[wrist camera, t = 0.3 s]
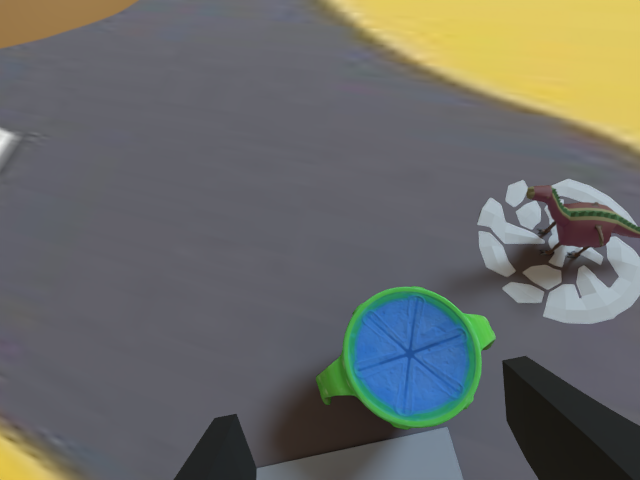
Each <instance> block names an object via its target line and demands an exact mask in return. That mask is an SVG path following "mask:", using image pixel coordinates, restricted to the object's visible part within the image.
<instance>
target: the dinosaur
mask: <svg viewBox="0 0 640 480" xmlns="http://www.w3.org/2000/svg"><path fill="white" fill-rule="evenodd" d="M527 190H528V191H527ZM526 192H527V198H529V199H532V200H537V201H542V202H545V203H546V204H547V206H546V207H545V211H546V213H547V215H548V217H549V219H550V221H549V222H550V226H549V227H548V228H547V229H539V230H542V231H540V232H539V233H537V234H540V233H548V232H550V230H551V231H552V234H553V235H552V236H551V237H550V238H549V246H550V248H551V250H549V251H544V250H540V251H543V252H544V253H542V254H540V255H551V254H552V253H553V251H554V252H555V254H554V255H553V256H552V258H551V259H550V261H549V263H551V264H553V265H555V266H559V267H563V263H564V259H565V255H566V254H569V253H570V254H572V255H569V256H567V257H578V256H580V254H581V255H583V256H585V257H586V258H589V259H591V260H593V261H594V262H596V263H598V264H600V265H601V263H602V260H603V256H602V255H600V254H599V253H598V252H596V251H595V250H594V249H592V248H591V247H594V248H596V247H601V246H604V245H606V246H607V258H608V260H609V262H610V263H611V265H612V266H613V268H614V269H615V271H616V273H617V274H618V275H619V278H618V279H617V280H616V281H615V283H614V284H613V285H612V286H611V288H608V287H607V286H606V285H605V284H603V283H602V282H601V281H600V280H599V279H598V278H597V277H596V276H595V274H594V273H592V272H591V271H590V270H589V269H588V268H587V267H586V266H585V265H584V266H582V267H580V268H579V269H578V275H577V281H576V283H577V286H578V289H579V291H580V294H581V296H582V298H579V296H578V294H577V291H576V288H575V286H574V285H572V284H563V285H561V286H560V287H558V288H556V289H554V290H553V291H551V292H550V293H549V296H548V300H547V303H546V308H545V311H544V315H543V317H547V318H550V319H554V320H557V321H561V322H564V323H580V324H592V323H596V322H601V321H605V320H609V319H613V318H614V317H615V316H616V315H618V314H619V313H621V312H622V311H624V310H626V309H627V308H629V307H631V306H632V304H633V303H634V302H635V301H636V299H637V298H638V297H639V295H640V257H639V256H638V255H637V253H636V252H635V251H634V250H633V249H632V248H631V247H629V246H628V245H627V244H625V243H624V242H623V241H621V240H620V239H619V238H617V237H616V236H615V237H611V232H612V233H616V234H619V235H622V236H628V237H634V238H640V227H638V226H637V225H636V224H635V222H634V221H633V219H632V218H631V217H630V215H629V214H628V213H627V212H626V211H625V210H624V209H623V208H622V207H621V206H619V205H618V204H617V203H616V202H615V201H614V200H613V199H611V198H610V197H609V196H607V195H605V194H603V193H602V192H600V191H598V190H596V189H594V188H593V187H591V186H589V185H586V184H583V183H580V182H576V181H573V180H570V179H566V180H564V181H562V182H559V183H557V184H555V185H552V186H549V185H546V186H533V187H530V188H528V187H527V185H526V183H525V182H524V180H522V181H519V182H517V183H514V184H511V185H509V186H508V190H507V195H506V200H505V201H506V202H507V203H509V204H510V205H512V206H513V207H515V206H517V205H518V204H519V203H521V202H522V201H523V199H524V197H525V194H526ZM558 196H566V197H569V198H572V199H575V200H578V201H581V202H579V203H573V204H564V200H561V199H559V198H560V197H558ZM537 201H533V202H530V203H528V204H525V205H524V206H523V207H521V208H520V209H519V210H518V211H516V214H517V216H518V219H519V221H520V224H521V225H522V226H524V227H527V228H529V229H531V230H533V228H534V226H535V225H536V224H538V223H539V222H540V221H541V209H540V207H539V205H538V203H537ZM477 225H483V226H488V227H490V228H491V229H492V231H493V232H494V233H495V234H496V235H497V236H498V237H499V238H500V239H501V240H502V241H503V243H504V244H545V242H544V240H543V239H541V238H540V237H538V236H537V235H535V234H534V233H532V232H530V231H527V230H525V229H523V228H519V227H517V226H514V225H512V224H510V223H506V221H505V218H504V214H503V210H502V206H501V204H499V203H498V202H497V201H495V200H494V199H492V198H489V200H488V201H487V203H486V204H485V205H484V207H483V208H482V210H481V213H480V217H479V220H478V223H477ZM479 247H480V250H481V253H482V256H483V259H484V262H485V265H486V267H487V268H489V269H491V270H493V271H495V272H497V273H499V274H501V275H503V276H505V277H508V276H510V275H511V274H513V273H514V272H516V270H515V269H514V268H513V266H512V265H511V264H510V262H509V261H508V259H507V256H506V254H505V251H504V248H503V246H502V245H501V244H500V243H499V242H498V241H497V240H496V239H495V238H494V236H493V235H492V234H491V233H488V232H482V231H479ZM572 250H573V251H576V252H577V253H571V252H572ZM522 273H523V274H524V275H526V276H527V277H528V278H529V279H530V280H531V281H532V282H534V283H536V284H538V285H540V286H541V287H543V288H545V289H547V290H549V289H550V288H552V287H554V286H556V285H557V284H559V283H561V282H562V279H561V270H557V269H553V268H551V267H549V266H547V265H539V266H531V267H530V268H528V269H527V270H525V271H524V272H522ZM502 289H503V290H504V291H505V292H506V293H507V294H509V295H510V296H511V297H512V298H513V299H514V300H515V301H516V302H517V303H541V302H542V298H543V295H544V291H542V290H540V289H538V288H536V287H534V286H532V285H528V284H522V283H515V282H510V283H509V284H507V285H506V286H504V287H503V288H502Z"/></svg>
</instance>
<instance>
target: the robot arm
mask: <svg viewBox="0 0 640 480" xmlns="http://www.w3.org/2000/svg"><path fill="white" fill-rule="evenodd" d="M502 363H503V376H504V390H505V404H506V417H507V422H508V424H509V426H510V428H511V430H512V432H513V434H514V437H515V439H516V441H517V443H518V445H519V446H520V448H521V450H522V452H523V454H524V456H525V458H526V460H527V462H528V463H529V465H530V466H531V468H532V469H533V471H534V473H535V474H536V476H537V477H538V479H539V480H640V426H639V425H637V424H635V423H633V422H631V421H630V420H628V419H626V418H624V417H623V416H621V415H619V414H618V413H616V412H614V411H612V410H611V409H609V408H607V407H606V406H604V405H602V404H601V403H599V402H597V401H596V400H594V399H592V398H591V397H589V396H588V395H586V394H584V393H583V392H581V391H579V390H578V389H576V388H575V387H573V386H572V385H570V384H568V383H567V382H565V381H564V380H562V379H561V378H559V377H558V376H556V375H554V374H553V373H551V372H550V371H548V370H547V369H545V368H544V367H542V366H541V365H539V364H537V363H536V362H534V361H533V360H531V359H530V358H528V357H526V356H523V357H518V358H513V359H508V360H503V361H502ZM256 477H257V468H256V466H255V463H254V460H253V458H252V455H251V452H250V449H249V447H248V444H247V441H246V439H245V436H244V433H243V431H242V428H241V425H240V422H239V420H238V417H237V414H233V415H228V416H223V417H218V418H214V420H213V421H212V423H211V424H210V426H209V427H208V429H207V430H206V432H205V433H204V435H203V436H202V438H201V439H200V441H199V442H198V444H197V445H196V447H195V448H194V450H193V451H192V453H191V454H190V456H189V458H188V459H187V461H186V462H185V464H184V465H183V467H182V468H181V470H180V471H179V472H178V474H177V475H176V477H175V478H174V480H256Z"/></svg>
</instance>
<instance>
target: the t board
mask: <svg viewBox="0 0 640 480" xmlns="http://www.w3.org/2000/svg"><path fill="white" fill-rule="evenodd" d="M256 480H463V477H462V474H461V471H460V467H459V464H458V461H457V457H456V454H455V451H454V447H453V444H452V441H451V437H450V434H449V431H448V427H445V428H440V429H435V430H431V431H426V432H421V433H417V434H412V435H408V436H403V437H398V438H394V439H389V440H385V441H380V442H375V443H371V444H366V445H362V446H357V447H352V448H348V449H343V450H338V451H334V452H329V453H325V454H320V455H315V456H311V457H306V458H302V459H297V460H292V461H288V462H283V463H278V464H274V465H269V466H265V467H260V468H257V477H256Z"/></svg>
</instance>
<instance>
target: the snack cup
mask: <svg viewBox="0 0 640 480" xmlns="http://www.w3.org/2000/svg"><path fill="white" fill-rule="evenodd" d="M495 339H496V337H495V334H494V332H493V331H492V329H491V327H490V325H489V322H488V320H487V319H486V318H485V317H483V316H480V315H473V314H464V313H462V312H461V311H460V310H459V309H458V308H457V307H456V306H455V305H454V304H452V303H451V302H450V301H448V300H447V299H446V298H444V297H442V296H440V295H438V294H436V293H434V292H431V291H428V290H425V289H424V288H421V287H414V286H412V287H398V288H392V289H388V290H385V291H382V292H380V293H378V294H376V295H374V296H373V297H371V298H369V299H368V300H367V301H366V302H364V303H363V304H360V305H359V306H358V307H357V308H356V310H355V311H354V312H353V316H352V318H351V320H350V322H349V324H348V326H347V329H346V332H345V336H344V341H343V350H342V353H341V355H340V357H339V358H338V359H337V360H336V361H334V362H333V363H332V364H331V365H330V366H328V367H327V368H326V369H325V370H324V371H322V372H321V373H320V374H318V375H317V376H316V382H317V384H318V387H319V390H320V394H321V398H322V400H323V402H324V403H325V404H326V405H329V404H330V403H331V397H332V396H339V395H340V396H343V395H353V396H356V397H357V398H358V399H359V400H360V401H361V402H362V403H363V404H364V405H365V406H366V407H367V408H368V409H369V410H370V411H371V412H373V413H374V414H375V415H376V416H378V417H380V418H381V419H383V420H385V421H387V422H389V423H391V424H392V425H393V426H394V427H397V428H400V429H406V430H408V429H410V428H424V427H433V426H436V425H439V424H442V423H444V422H446V421H448V420H450V419H451V418H453V417H454V416H456V415H457V414H458V413H460V412H461V411H462V410H463V409H467V407H468V406H469V405H470V403H471V402H472V401H473V395H474V393H475V392H476V389H477V387H478V384H479V380H480V376H481V366H482V362H481V351H482V350H487V349H489V348H490V347H491V345H492V344H493V342H494V340H495Z"/></svg>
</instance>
